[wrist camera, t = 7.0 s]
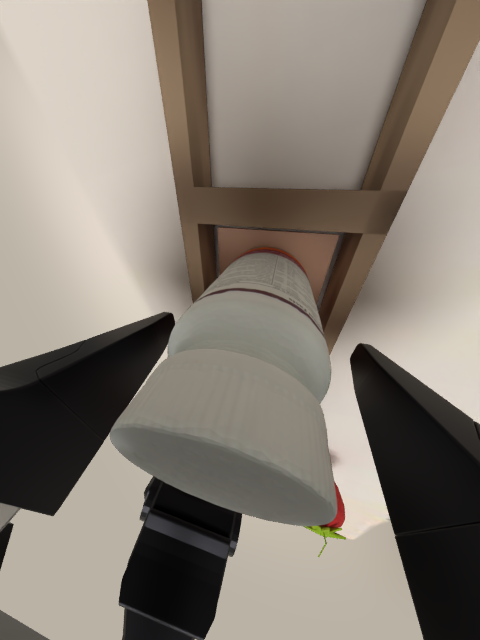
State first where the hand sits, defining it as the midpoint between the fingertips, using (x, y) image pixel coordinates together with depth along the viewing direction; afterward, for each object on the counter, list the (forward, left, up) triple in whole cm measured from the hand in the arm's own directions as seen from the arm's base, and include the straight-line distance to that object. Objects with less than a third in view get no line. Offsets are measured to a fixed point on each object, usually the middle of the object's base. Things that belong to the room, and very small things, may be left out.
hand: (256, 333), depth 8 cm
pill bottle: (0, 0, -6) cm, 6 cm away
